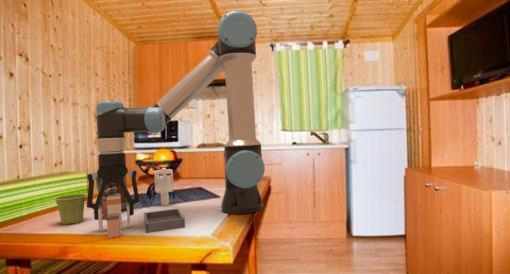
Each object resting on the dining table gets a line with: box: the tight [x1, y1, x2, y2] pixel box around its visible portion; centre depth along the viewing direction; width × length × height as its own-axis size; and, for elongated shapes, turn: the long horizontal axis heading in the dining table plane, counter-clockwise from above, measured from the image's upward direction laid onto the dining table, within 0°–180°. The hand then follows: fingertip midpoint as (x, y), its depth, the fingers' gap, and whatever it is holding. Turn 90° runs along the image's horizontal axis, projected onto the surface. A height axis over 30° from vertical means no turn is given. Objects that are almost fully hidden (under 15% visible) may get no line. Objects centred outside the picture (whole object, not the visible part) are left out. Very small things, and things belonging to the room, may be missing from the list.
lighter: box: [101, 187, 120, 221], centre depth 109 cm, size 8×3×10 cm, turn 168°
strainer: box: [154, 167, 174, 207], centre depth 124 cm, size 7×7×15 cm
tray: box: [143, 208, 186, 234], centre depth 97 cm, size 11×14×3 cm
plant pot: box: [54, 193, 88, 225], centre depth 103 cm, size 9×9×9 cm
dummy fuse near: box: [105, 213, 121, 239], centre depth 87 cm, size 3×3×6 cm
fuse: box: [107, 194, 123, 230], centre depth 94 cm, size 4×4×10 cm
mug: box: [95, 175, 129, 215], centre depth 119 cm, size 16×11×15 cm
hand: (115, 227), depth 94 cm, fingers open, 7 cm apart
